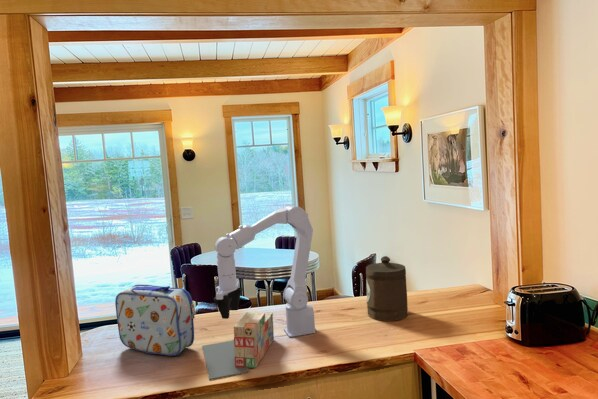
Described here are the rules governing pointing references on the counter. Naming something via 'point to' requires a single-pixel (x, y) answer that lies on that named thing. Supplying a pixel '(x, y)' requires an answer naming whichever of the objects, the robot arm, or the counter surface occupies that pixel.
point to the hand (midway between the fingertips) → (230, 314)
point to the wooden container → (386, 290)
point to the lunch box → (155, 319)
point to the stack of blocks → (252, 338)
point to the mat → (221, 360)
